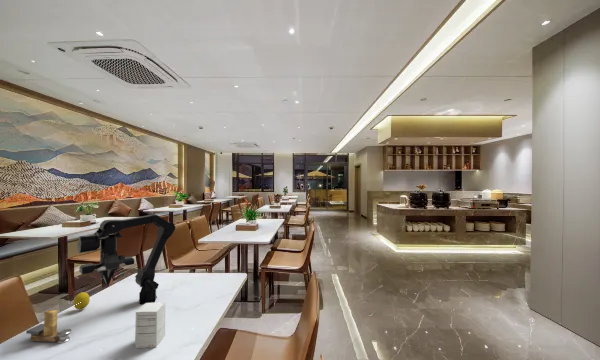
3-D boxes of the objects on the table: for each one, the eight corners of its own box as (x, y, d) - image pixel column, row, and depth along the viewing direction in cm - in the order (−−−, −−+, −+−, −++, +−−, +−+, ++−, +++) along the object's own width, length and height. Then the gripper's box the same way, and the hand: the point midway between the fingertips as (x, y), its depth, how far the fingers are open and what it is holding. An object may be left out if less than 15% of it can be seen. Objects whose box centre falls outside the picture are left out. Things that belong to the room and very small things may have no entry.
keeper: (52, 334, 95) (52, 325, 96) (37, 342, 91) (38, 331, 91) (40, 333, 96) (41, 323, 96) (25, 341, 92) (26, 330, 92)
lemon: (80, 313, 112) (80, 295, 112) (69, 312, 113) (70, 294, 113) (92, 307, 117) (93, 290, 117) (82, 306, 118) (83, 289, 118)
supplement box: (145, 336, 95) (146, 302, 95) (165, 335, 96) (166, 301, 96) (134, 348, 88) (134, 311, 88) (156, 347, 88) (157, 311, 89)
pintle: (73, 336, 95) (73, 328, 95) (68, 342, 91) (68, 334, 91) (59, 338, 93) (59, 330, 93) (53, 345, 89) (53, 336, 90)
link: (63, 336, 94) (64, 309, 94) (54, 342, 91) (55, 313, 91) (40, 335, 94) (41, 308, 95) (30, 340, 91) (31, 312, 91)
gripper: (85, 256, 100) (84, 296, 99) (139, 247, 114) (138, 282, 114) (79, 251, 107) (78, 288, 106) (130, 244, 121) (129, 276, 121)
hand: (107, 284), depth 112 cm, fingers closed
